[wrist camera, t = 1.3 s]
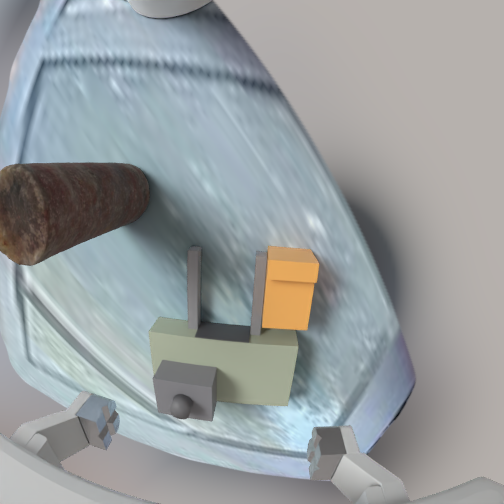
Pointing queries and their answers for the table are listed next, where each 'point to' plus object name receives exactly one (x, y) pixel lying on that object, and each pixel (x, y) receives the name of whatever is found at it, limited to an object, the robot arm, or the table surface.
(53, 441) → the robot arm
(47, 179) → the candle
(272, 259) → the orange lidded box
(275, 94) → the table surface
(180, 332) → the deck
